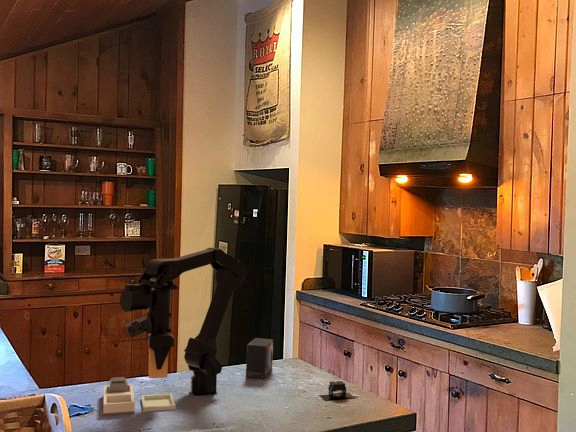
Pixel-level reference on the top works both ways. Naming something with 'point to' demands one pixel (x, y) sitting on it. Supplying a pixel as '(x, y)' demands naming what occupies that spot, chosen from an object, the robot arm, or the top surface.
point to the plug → (152, 367)
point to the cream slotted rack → (118, 397)
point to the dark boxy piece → (337, 396)
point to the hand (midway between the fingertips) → (158, 367)
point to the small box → (259, 358)
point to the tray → (158, 402)
